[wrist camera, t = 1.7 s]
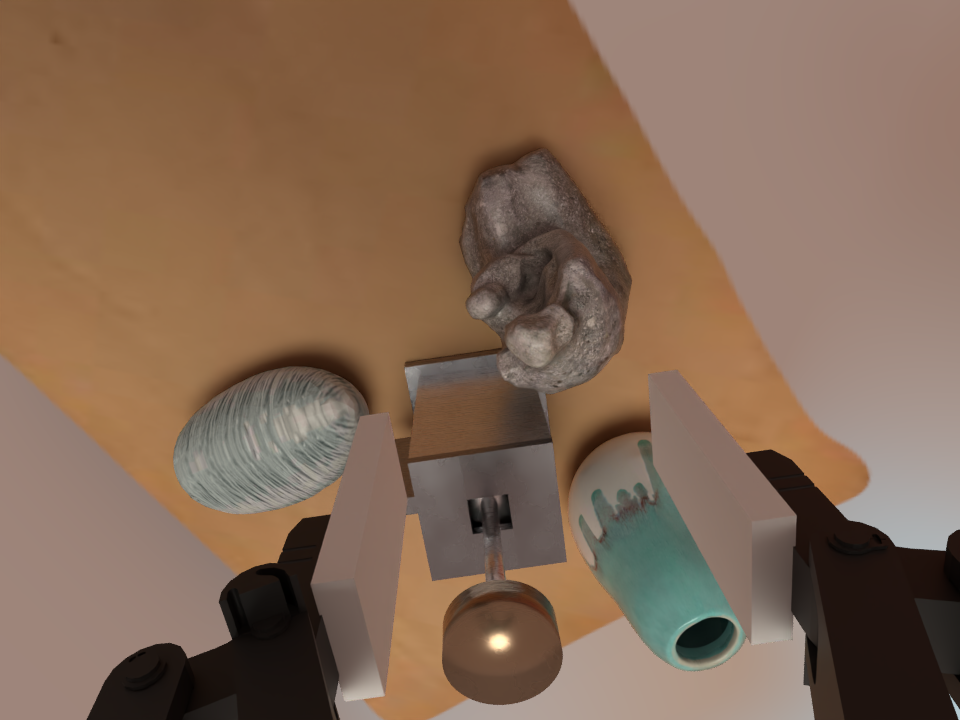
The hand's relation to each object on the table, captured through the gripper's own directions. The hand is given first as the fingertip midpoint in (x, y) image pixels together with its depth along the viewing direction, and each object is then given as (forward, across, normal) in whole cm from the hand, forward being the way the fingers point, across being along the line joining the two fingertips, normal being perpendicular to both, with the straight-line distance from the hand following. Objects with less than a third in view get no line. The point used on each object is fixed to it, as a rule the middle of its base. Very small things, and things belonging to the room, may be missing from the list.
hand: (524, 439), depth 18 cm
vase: (+31, +9, -22) cm, 39 cm away
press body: (+31, -2, -14) cm, 34 cm away
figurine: (+31, +3, -2) cm, 32 cm away
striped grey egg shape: (+31, -17, -12) cm, 37 cm away
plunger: (+19, -2, -14) cm, 24 cm away
